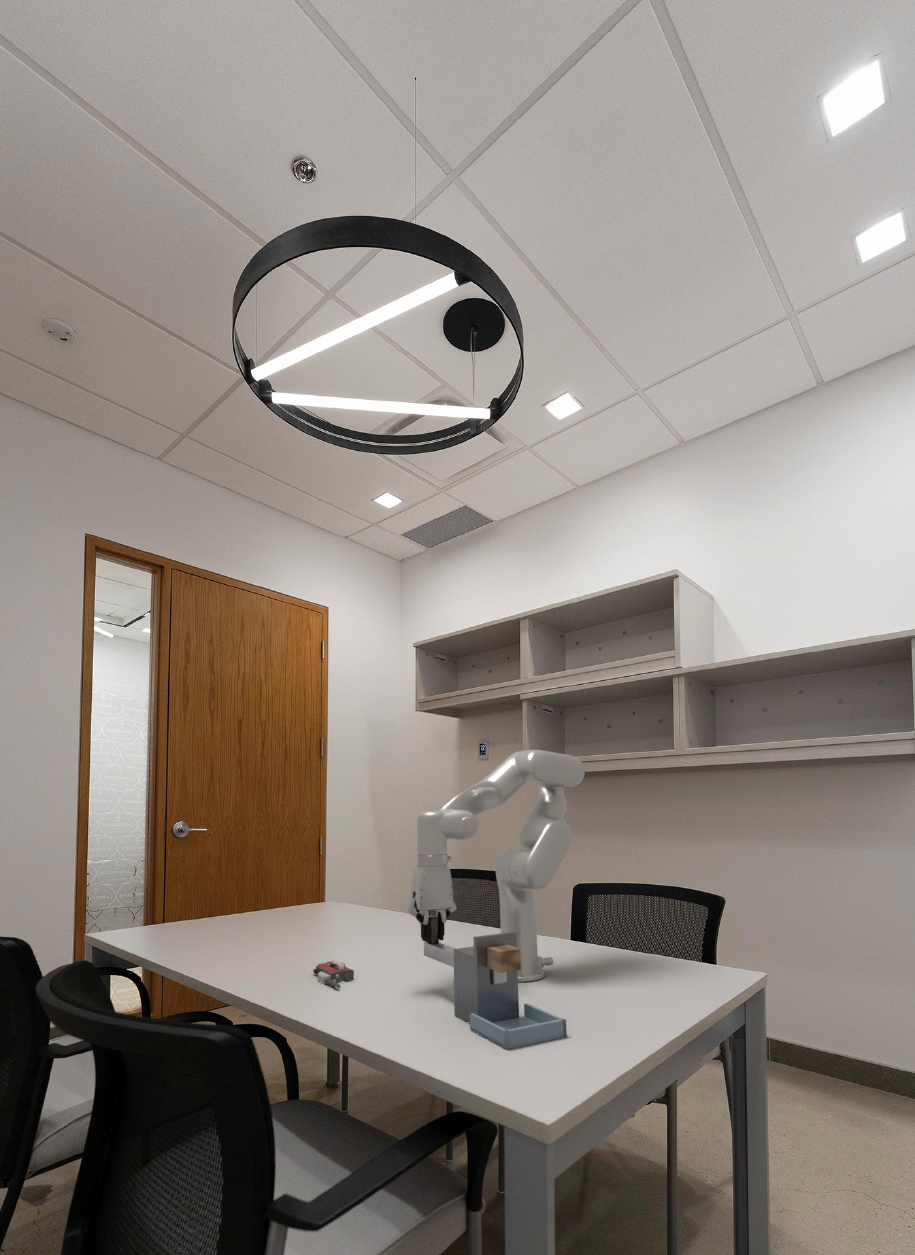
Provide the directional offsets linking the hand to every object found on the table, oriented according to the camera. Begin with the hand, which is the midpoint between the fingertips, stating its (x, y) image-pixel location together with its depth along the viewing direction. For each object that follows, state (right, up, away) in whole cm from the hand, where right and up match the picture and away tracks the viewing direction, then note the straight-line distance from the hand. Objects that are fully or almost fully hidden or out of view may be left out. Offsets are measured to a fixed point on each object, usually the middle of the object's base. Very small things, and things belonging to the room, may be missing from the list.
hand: (432, 939), depth 174 cm
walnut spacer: (+16, +6, -28) cm, 33 cm away
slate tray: (+18, -4, -34) cm, 39 cm away
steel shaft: (+7, -1, -13) cm, 15 cm away
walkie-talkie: (-26, -15, +9) cm, 31 cm away
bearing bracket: (+12, -6, -24) cm, 28 cm away
